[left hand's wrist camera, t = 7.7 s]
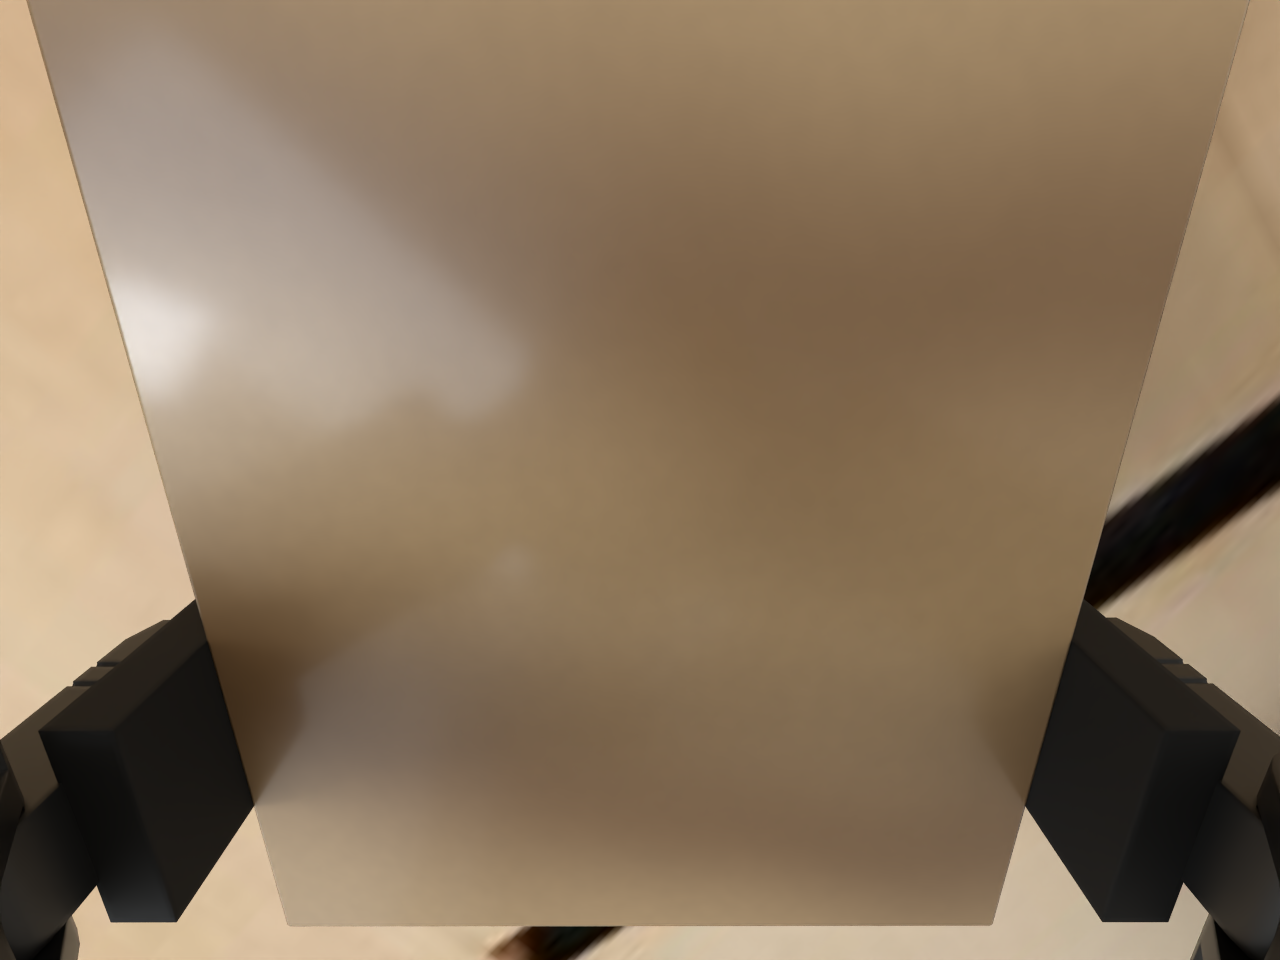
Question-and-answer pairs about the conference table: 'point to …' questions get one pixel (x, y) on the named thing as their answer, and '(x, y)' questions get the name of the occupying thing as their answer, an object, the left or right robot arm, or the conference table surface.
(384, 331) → the cabinet
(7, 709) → the conference table surface
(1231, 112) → the conference table surface
